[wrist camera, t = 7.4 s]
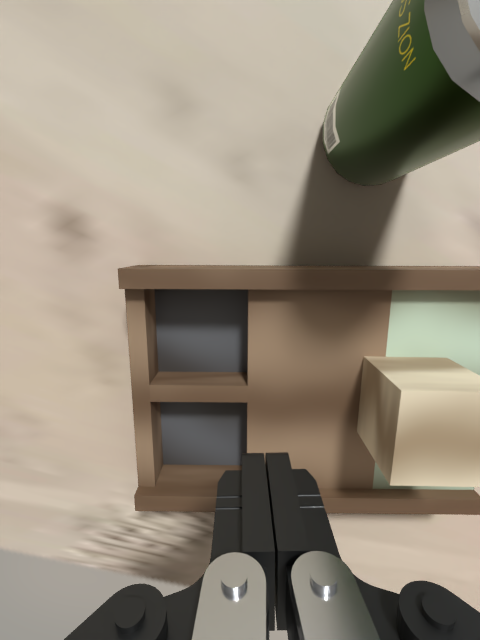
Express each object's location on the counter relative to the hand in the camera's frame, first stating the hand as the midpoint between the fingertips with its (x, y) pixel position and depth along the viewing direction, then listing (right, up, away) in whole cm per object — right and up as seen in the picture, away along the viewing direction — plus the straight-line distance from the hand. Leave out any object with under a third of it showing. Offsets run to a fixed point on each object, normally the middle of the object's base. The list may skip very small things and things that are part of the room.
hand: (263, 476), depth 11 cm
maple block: (+8, +1, +8) cm, 11 cm away
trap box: (+3, +1, +10) cm, 11 cm away
